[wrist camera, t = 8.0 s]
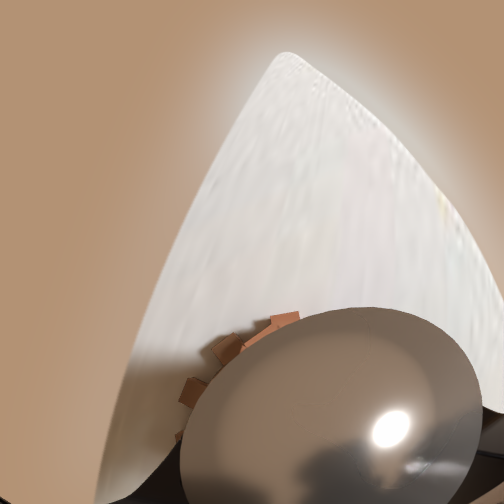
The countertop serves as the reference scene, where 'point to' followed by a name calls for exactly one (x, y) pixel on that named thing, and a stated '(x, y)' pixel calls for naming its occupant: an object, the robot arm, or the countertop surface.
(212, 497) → the drive pin
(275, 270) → the countertop surface
